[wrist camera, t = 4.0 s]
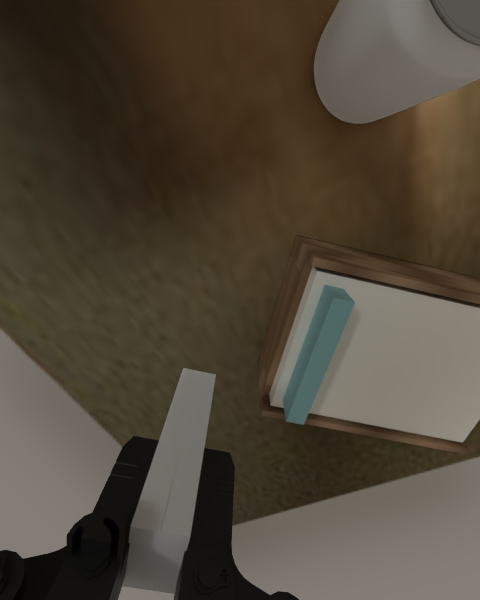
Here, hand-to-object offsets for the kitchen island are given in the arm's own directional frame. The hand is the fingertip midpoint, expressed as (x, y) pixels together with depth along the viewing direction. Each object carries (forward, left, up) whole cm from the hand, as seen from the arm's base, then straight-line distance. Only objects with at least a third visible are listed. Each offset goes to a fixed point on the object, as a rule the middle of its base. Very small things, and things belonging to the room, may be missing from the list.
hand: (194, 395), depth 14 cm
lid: (+13, 0, -7) cm, 15 cm away
